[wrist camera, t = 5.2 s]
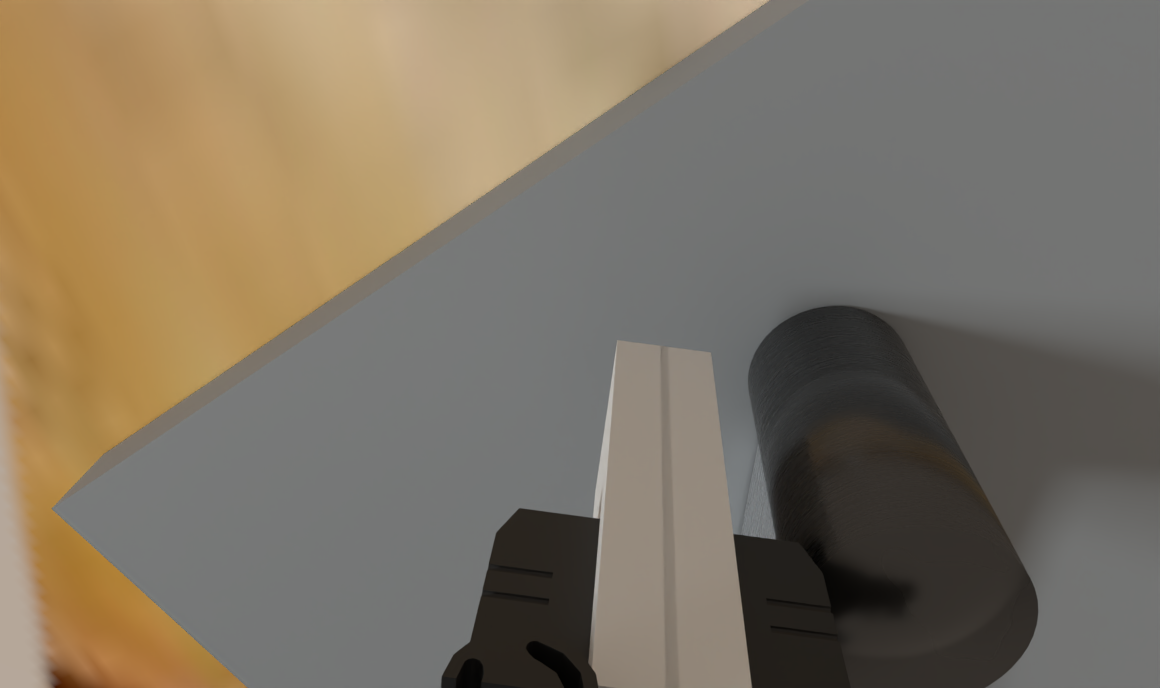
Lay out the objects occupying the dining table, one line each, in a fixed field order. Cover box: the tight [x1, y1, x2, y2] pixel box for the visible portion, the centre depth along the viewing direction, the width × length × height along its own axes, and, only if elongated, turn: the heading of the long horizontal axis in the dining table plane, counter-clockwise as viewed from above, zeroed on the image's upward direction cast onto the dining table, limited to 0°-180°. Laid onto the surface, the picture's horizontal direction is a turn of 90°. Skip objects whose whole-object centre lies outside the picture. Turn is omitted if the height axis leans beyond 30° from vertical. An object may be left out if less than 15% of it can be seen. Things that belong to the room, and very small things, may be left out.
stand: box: [52, 0, 1160, 688], centre depth 20 cm, size 25×22×2 cm
